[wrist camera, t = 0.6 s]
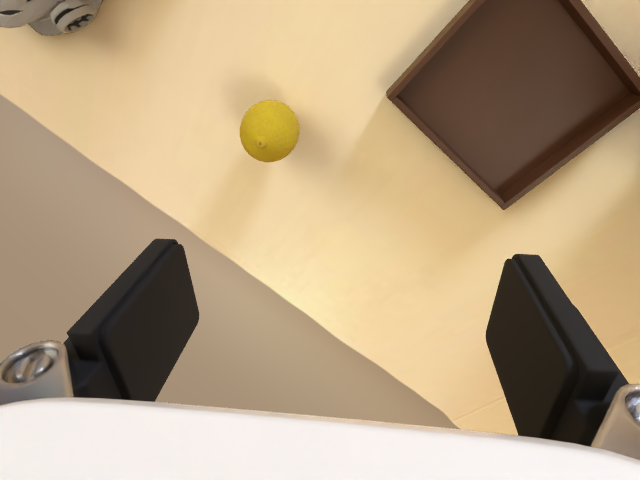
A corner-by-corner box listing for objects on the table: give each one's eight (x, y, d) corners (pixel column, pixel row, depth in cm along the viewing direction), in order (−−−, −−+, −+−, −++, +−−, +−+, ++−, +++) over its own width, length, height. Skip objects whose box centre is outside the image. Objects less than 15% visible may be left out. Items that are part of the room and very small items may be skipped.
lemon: (314, 129, 41) (303, 154, 34) (273, 155, 43) (254, 184, 36) (284, 81, 39) (266, 98, 32) (242, 111, 41) (216, 133, 34)
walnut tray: (386, 92, 38) (386, 97, 36) (522, -58, 31) (533, -63, 29) (497, 200, 43) (504, 210, 40) (637, 91, 36) (654, 96, 33)
